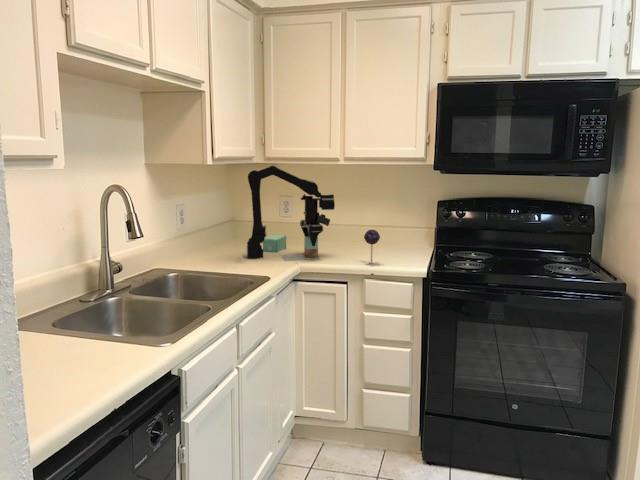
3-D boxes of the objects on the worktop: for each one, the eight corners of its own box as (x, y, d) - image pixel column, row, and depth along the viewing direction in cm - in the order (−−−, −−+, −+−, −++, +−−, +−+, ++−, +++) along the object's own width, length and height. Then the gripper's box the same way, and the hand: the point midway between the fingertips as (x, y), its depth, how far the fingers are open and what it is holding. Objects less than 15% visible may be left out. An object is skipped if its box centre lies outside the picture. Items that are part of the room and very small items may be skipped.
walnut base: (307, 258, 238) (307, 249, 238) (304, 255, 243) (304, 247, 242) (317, 257, 240) (317, 248, 239) (315, 255, 244) (315, 246, 244)
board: (285, 263, 232) (285, 260, 232) (280, 257, 244) (280, 255, 244) (321, 261, 237) (321, 259, 236) (314, 255, 248) (314, 253, 248)
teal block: (307, 249, 238) (307, 238, 237) (304, 247, 242) (304, 236, 241) (317, 248, 239) (317, 237, 238) (315, 246, 244) (315, 236, 243)
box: (262, 253, 253) (262, 238, 251) (272, 248, 265) (272, 234, 264) (277, 255, 251) (277, 239, 249) (286, 249, 264) (286, 234, 262)
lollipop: (381, 263, 233) (382, 229, 231) (375, 266, 228) (376, 231, 225) (367, 261, 237) (368, 227, 234) (360, 264, 231) (361, 229, 228)
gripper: (334, 211, 231) (334, 247, 233) (323, 207, 249) (322, 240, 251) (309, 212, 228) (309, 248, 231) (299, 207, 246) (299, 241, 248)
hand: (311, 244), depth 240 cm, fingers open, 9 cm apart
